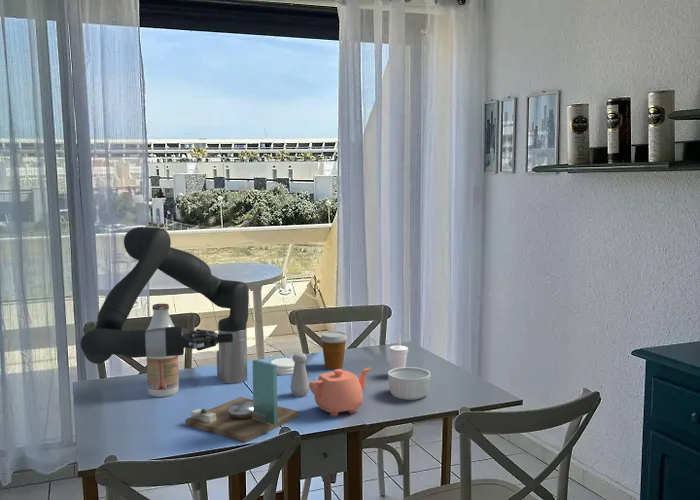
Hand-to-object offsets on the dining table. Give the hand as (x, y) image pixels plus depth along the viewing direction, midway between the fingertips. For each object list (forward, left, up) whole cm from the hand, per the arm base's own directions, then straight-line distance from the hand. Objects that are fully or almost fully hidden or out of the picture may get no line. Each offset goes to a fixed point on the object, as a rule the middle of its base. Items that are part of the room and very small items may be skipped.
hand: (232, 337), depth 176 cm
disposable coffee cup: (-10, +62, -25) cm, 68 cm away
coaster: (-22, +49, -26) cm, 59 cm away
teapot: (+16, +28, -25) cm, 41 cm away
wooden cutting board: (-2, +6, -25) cm, 26 cm away
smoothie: (+14, +66, -25) cm, 72 cm away
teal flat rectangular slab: (+2, +5, -23) cm, 24 cm away
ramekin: (+26, +51, -25) cm, 62 cm away
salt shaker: (-2, +32, -25) cm, 41 cm away
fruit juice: (-39, +10, -25) cm, 48 cm away
